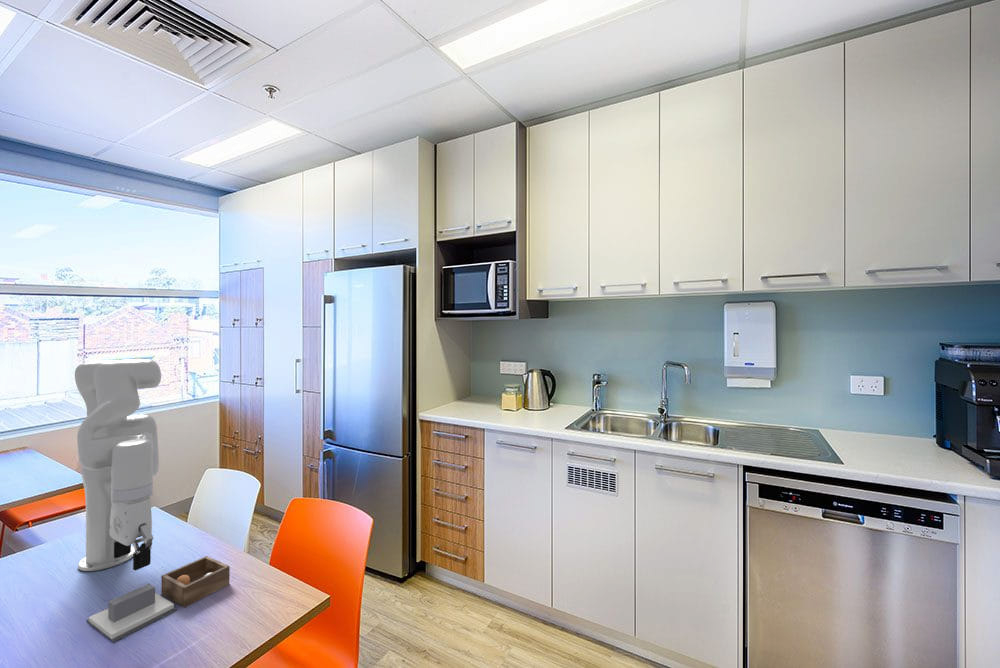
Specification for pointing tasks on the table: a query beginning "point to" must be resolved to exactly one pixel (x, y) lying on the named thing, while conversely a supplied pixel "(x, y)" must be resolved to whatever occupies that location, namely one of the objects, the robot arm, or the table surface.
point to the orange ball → (184, 579)
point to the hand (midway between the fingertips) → (131, 561)
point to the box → (195, 581)
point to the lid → (130, 611)
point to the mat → (137, 626)
